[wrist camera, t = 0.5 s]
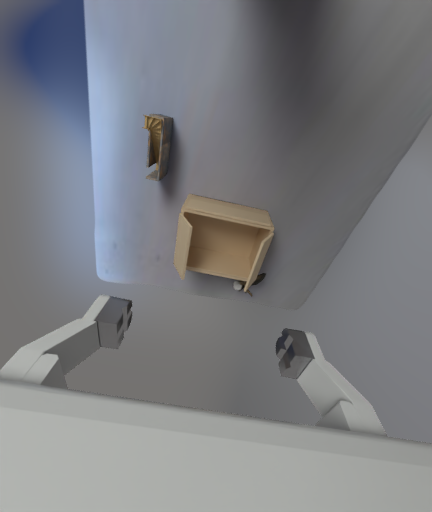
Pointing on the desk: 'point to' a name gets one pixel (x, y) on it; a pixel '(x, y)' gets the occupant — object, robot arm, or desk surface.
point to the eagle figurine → (241, 284)
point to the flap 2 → (258, 260)
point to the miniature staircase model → (158, 144)
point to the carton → (224, 236)
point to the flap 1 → (182, 245)
